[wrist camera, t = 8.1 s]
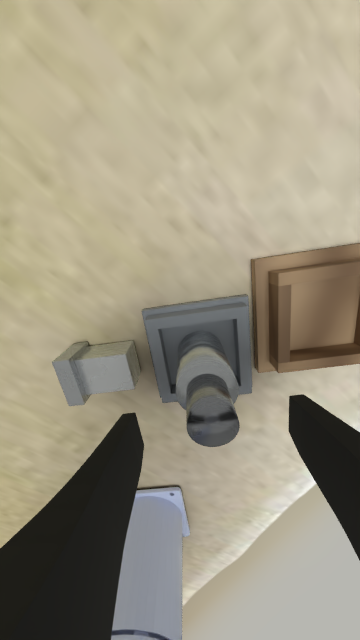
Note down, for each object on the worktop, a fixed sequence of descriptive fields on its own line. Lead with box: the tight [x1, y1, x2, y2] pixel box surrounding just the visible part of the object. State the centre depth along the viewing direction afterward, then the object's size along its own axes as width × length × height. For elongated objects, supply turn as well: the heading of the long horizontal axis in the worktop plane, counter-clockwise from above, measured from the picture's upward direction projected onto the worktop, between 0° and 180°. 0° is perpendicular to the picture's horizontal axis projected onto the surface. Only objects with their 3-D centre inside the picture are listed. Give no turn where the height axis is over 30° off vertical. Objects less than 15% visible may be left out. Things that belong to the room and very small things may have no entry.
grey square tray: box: [142, 294, 252, 403], centre depth 16 cm, size 8×8×2 cm
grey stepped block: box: [52, 340, 141, 406], centre depth 16 cm, size 5×4×3 cm
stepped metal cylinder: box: [176, 331, 239, 447], centre depth 13 cm, size 4×4×8 cm
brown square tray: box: [251, 243, 360, 373], centre depth 15 cm, size 9×9×2 cm
